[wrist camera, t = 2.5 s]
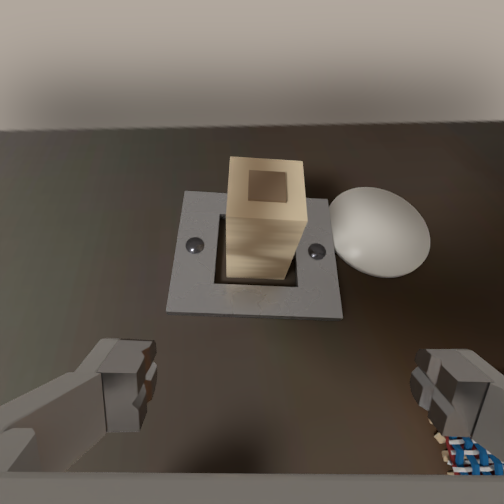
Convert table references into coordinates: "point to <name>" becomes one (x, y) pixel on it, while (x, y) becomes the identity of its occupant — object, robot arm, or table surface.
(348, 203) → the pad
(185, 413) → the table surface
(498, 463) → the woven mat
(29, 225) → the table surface
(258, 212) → the block
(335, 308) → the rail plate
